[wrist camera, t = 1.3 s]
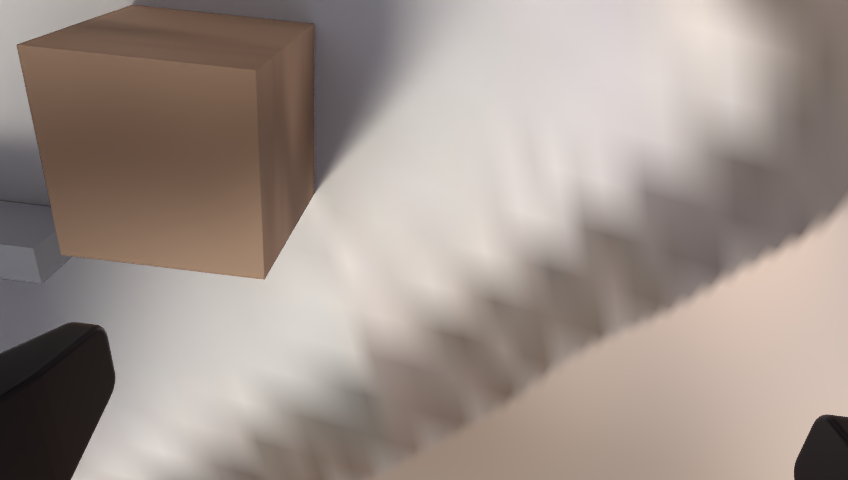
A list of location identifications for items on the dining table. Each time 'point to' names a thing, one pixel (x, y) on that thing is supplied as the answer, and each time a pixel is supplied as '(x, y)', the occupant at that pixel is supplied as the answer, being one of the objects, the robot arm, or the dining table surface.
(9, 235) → the walled tunnel
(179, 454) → the dining table surface
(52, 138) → the walnut block
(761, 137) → the dining table surface
